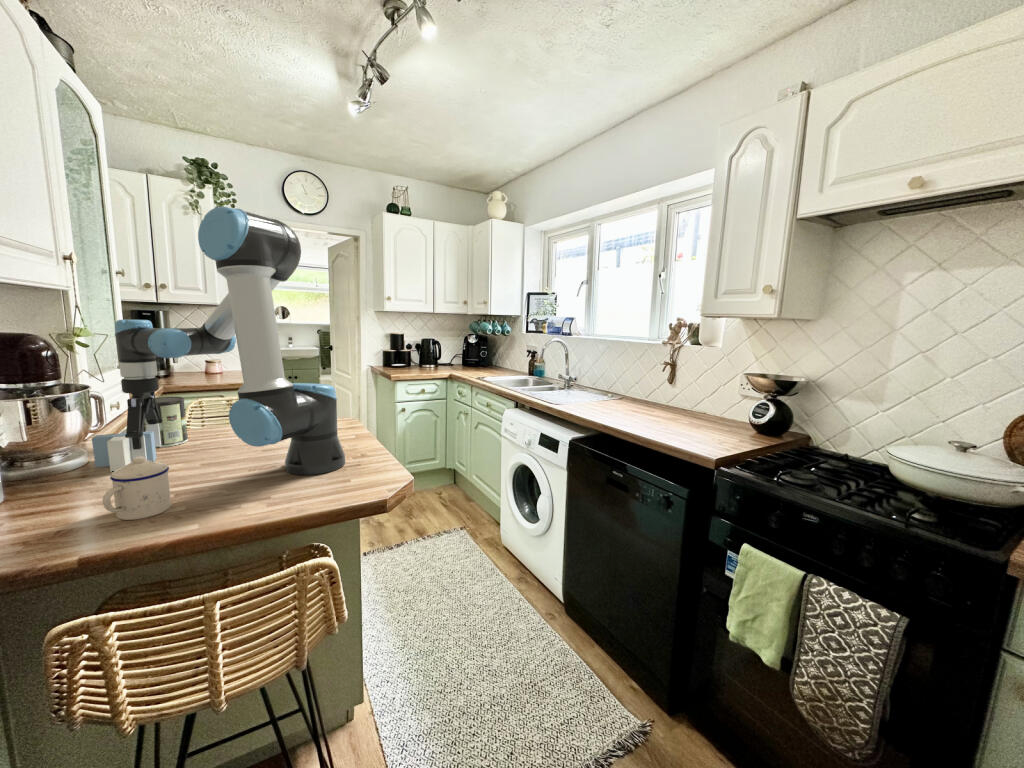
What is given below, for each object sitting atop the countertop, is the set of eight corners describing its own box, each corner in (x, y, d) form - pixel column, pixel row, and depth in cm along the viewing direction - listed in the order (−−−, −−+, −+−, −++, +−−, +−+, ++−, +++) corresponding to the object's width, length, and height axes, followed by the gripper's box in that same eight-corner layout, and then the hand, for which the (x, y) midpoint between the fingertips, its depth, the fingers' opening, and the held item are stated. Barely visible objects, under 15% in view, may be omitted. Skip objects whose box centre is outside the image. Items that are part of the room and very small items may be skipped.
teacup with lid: (145, 500, 93) (140, 449, 91) (183, 503, 92) (178, 451, 90) (86, 526, 81) (78, 468, 79) (129, 530, 80) (122, 471, 78)
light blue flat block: (153, 461, 117) (150, 433, 116) (95, 467, 111) (91, 438, 110) (156, 458, 119) (153, 430, 118) (100, 463, 114) (96, 435, 113)
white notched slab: (125, 470, 110) (122, 440, 109) (110, 471, 109) (106, 441, 107) (142, 454, 122) (139, 427, 121) (129, 455, 121) (126, 428, 120)
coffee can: (167, 437, 139) (163, 395, 137) (196, 439, 138) (192, 397, 136) (137, 446, 129) (132, 401, 127) (168, 448, 128) (163, 403, 126)
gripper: (136, 372, 123) (144, 442, 126) (102, 384, 101) (113, 469, 104) (169, 371, 126) (175, 439, 130) (142, 383, 105) (151, 465, 108)
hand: (147, 452), depth 117 cm, fingers open, 13 cm apart
